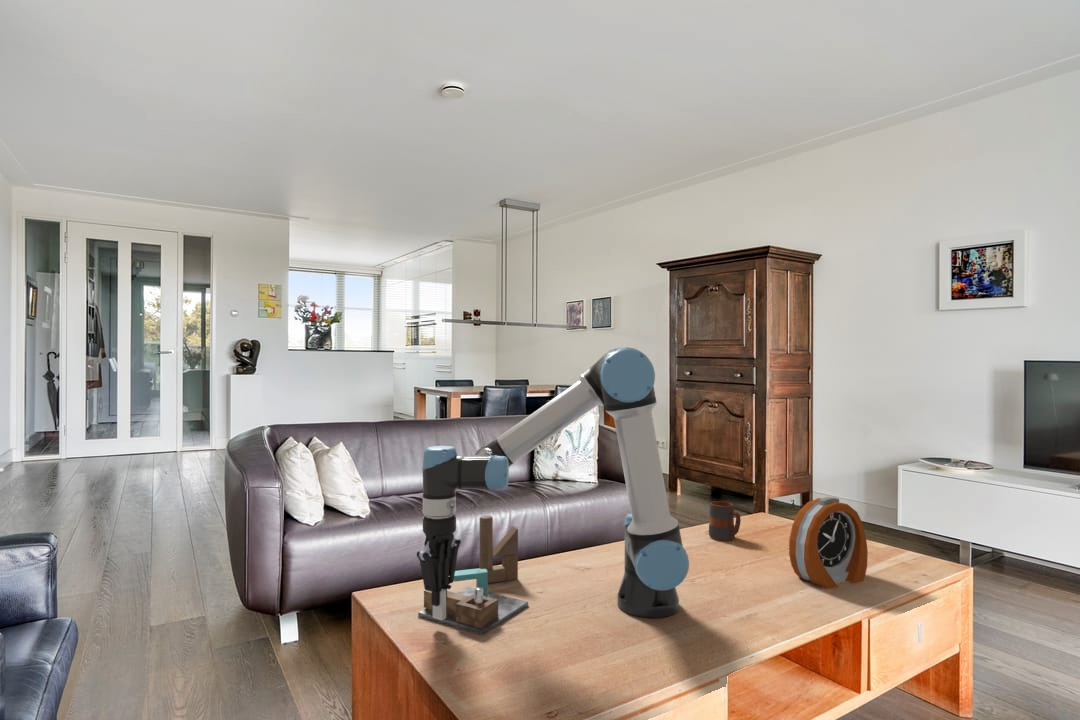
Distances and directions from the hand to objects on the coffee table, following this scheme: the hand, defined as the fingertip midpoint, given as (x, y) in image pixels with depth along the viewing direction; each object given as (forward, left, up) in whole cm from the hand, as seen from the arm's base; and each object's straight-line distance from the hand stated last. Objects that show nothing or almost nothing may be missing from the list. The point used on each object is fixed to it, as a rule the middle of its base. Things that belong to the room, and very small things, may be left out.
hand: (439, 617), depth 142 cm
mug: (-38, -104, -3) cm, 111 cm away
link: (0, -7, -1) cm, 7 cm away
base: (-1, -12, -2) cm, 12 cm away
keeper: (+4, -16, -2) cm, 16 cm away
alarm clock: (-73, -81, -3) cm, 109 cm away
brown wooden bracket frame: (+6, -32, -3) cm, 33 cm away
